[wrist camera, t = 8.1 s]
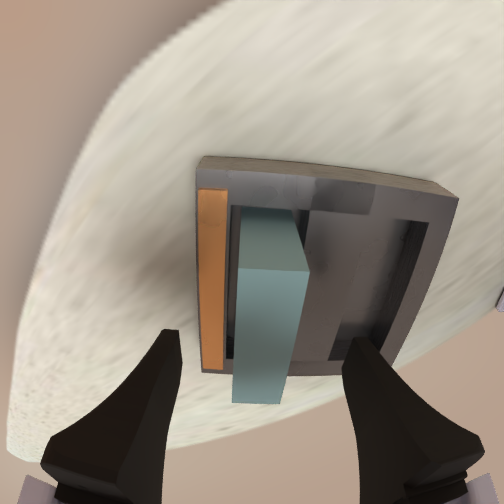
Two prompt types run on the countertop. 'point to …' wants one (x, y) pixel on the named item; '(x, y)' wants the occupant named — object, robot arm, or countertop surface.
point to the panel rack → (322, 254)
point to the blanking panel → (267, 303)
